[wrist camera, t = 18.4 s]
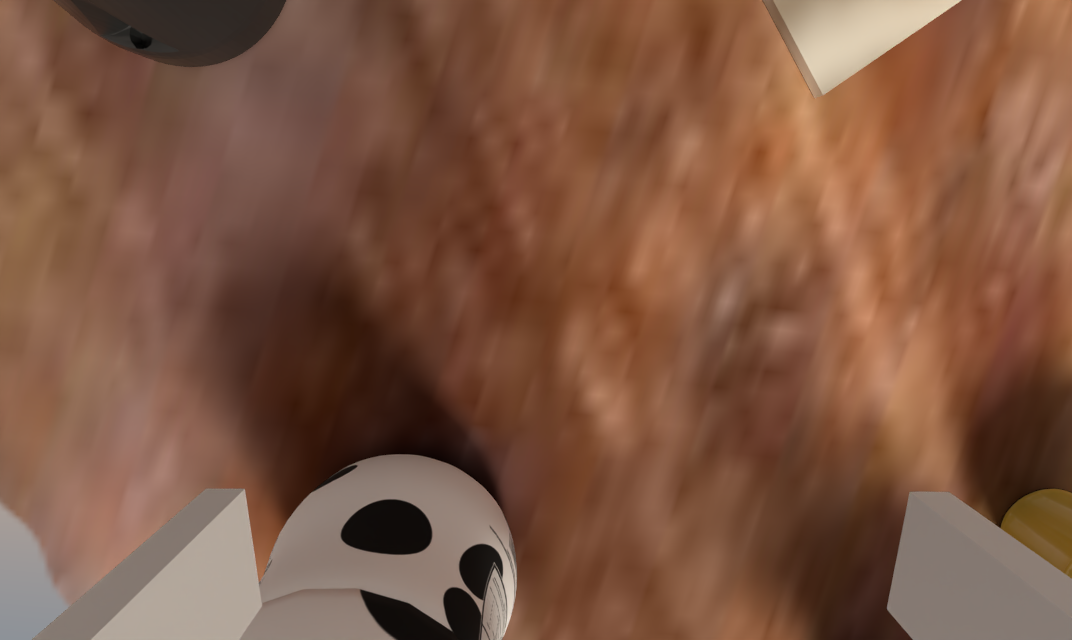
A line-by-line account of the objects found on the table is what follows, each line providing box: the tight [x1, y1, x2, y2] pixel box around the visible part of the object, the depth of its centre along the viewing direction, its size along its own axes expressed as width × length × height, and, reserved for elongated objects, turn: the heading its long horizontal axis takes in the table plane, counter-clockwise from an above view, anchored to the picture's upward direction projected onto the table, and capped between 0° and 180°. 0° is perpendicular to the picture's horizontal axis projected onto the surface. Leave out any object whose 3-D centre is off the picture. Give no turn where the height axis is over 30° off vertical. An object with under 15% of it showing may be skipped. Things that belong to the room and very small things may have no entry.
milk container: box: [239, 454, 517, 640], centre depth 32 cm, size 17×17×18 cm
